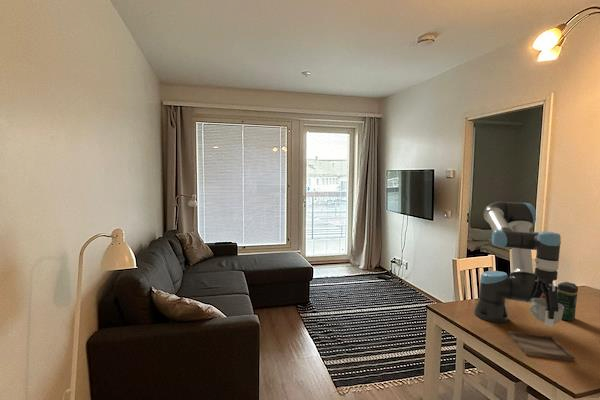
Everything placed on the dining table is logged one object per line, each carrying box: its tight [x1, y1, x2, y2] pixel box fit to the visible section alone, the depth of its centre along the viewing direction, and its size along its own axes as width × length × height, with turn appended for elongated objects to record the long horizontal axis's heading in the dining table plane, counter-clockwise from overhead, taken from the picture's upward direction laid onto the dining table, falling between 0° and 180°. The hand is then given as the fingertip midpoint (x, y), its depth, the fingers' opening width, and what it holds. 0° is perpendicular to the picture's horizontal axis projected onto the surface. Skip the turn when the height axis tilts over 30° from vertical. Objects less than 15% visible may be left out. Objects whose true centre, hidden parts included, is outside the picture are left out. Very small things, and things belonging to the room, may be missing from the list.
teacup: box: [528, 298, 564, 325], centre depth 134 cm, size 14×11×8 cm
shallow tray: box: [508, 330, 575, 363], centre depth 136 cm, size 17×17×2 cm
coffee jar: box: [557, 281, 579, 322], centre depth 165 cm, size 10×8×19 cm
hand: (541, 319), depth 134 cm, fingers closed on teacup, 11 cm apart
